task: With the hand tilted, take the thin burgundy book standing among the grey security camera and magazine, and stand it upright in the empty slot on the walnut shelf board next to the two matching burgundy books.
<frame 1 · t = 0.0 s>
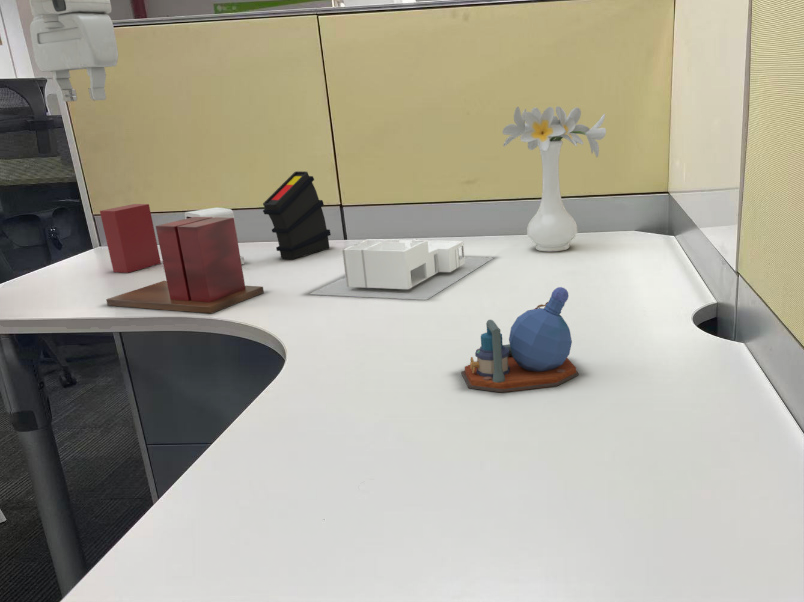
hand: (84, 100, 126), 29 cm above the table, tool pointing down, fingers open, 8 cm apart
book: (137, 267, 149), on the table
book rack: (159, 297, 126), on the table
flower vase: (555, 248, 149), on the table
model: (519, 376, 86), on the table
magazine: (302, 255, 153), on the table
house: (408, 276, 133), on the table
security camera: (220, 266, 147), on the table
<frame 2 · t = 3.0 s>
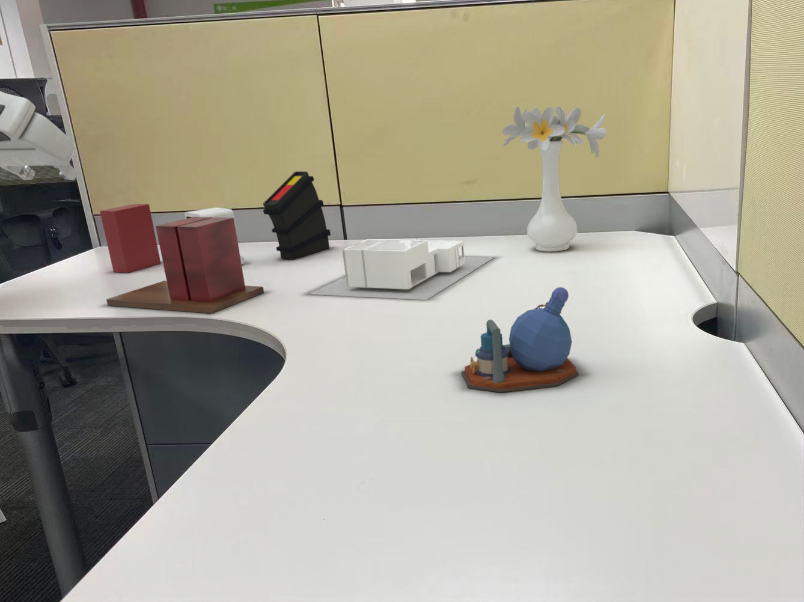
hand: (51, 176, 131), 18 cm above the table, tool tilted 45°, fingers open, 8 cm apart
nothing on the table moved.
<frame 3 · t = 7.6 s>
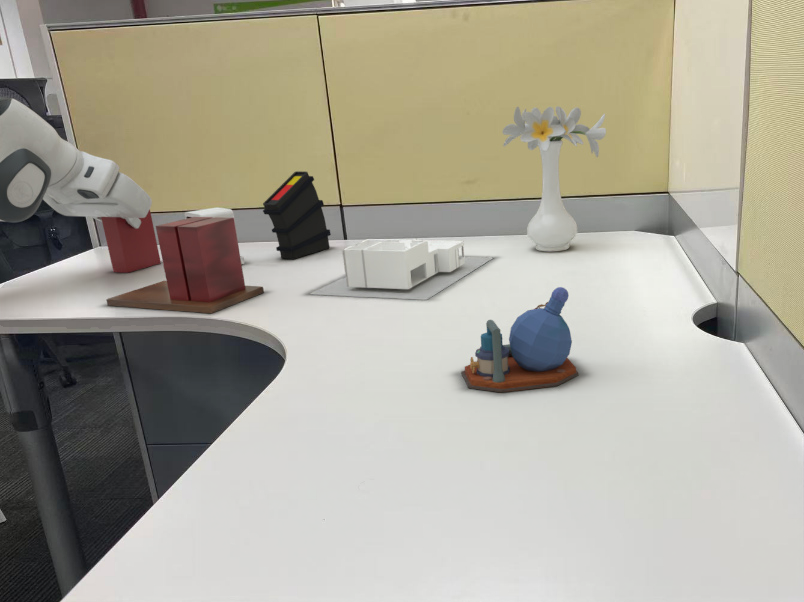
hand: (126, 225, 145), 8 cm above the table, tool tilted 45°, fingers closed on book, 3 cm apart
book: (137, 267, 149), on the table, touching gripper
everything else where it was.
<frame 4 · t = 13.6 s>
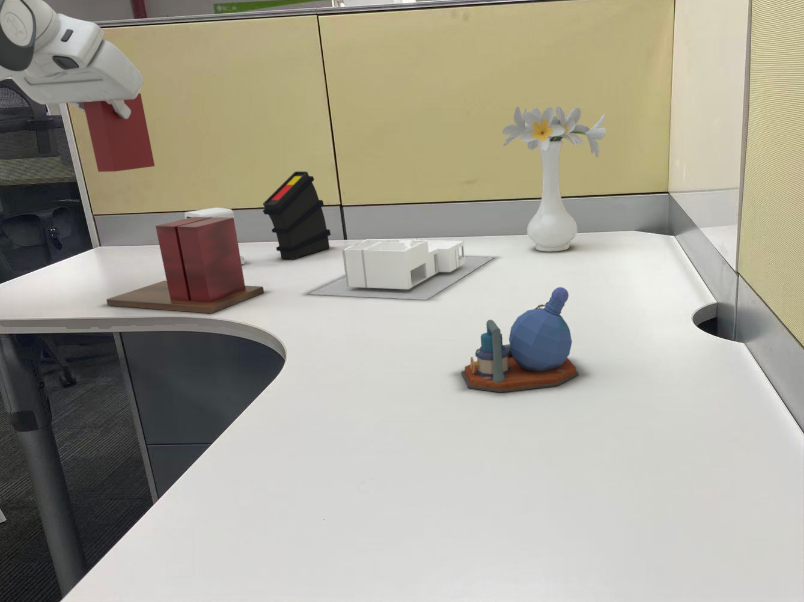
hand: (114, 116, 123), 27 cm above the table, tool tilted 45°, fingers closed on book, 3 cm apart
book: (127, 168, 126), point 19 cm above the table, touching gripper
everything else where it was.
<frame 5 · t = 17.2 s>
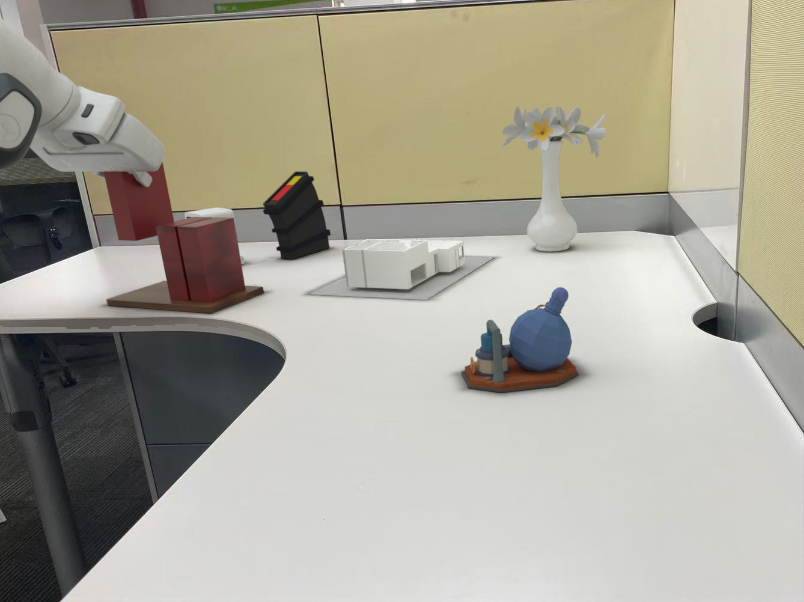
hand: (134, 183, 119), 18 cm above the table, tool tilted 45°, fingers closed on book, 3 cm apart
book: (148, 235, 122), point 10 cm above the table, touching gripper
everything else where it was.
when the fingers open (9 cm above the table, at t = 20.0 s): book stays where it is, resting on book rack.
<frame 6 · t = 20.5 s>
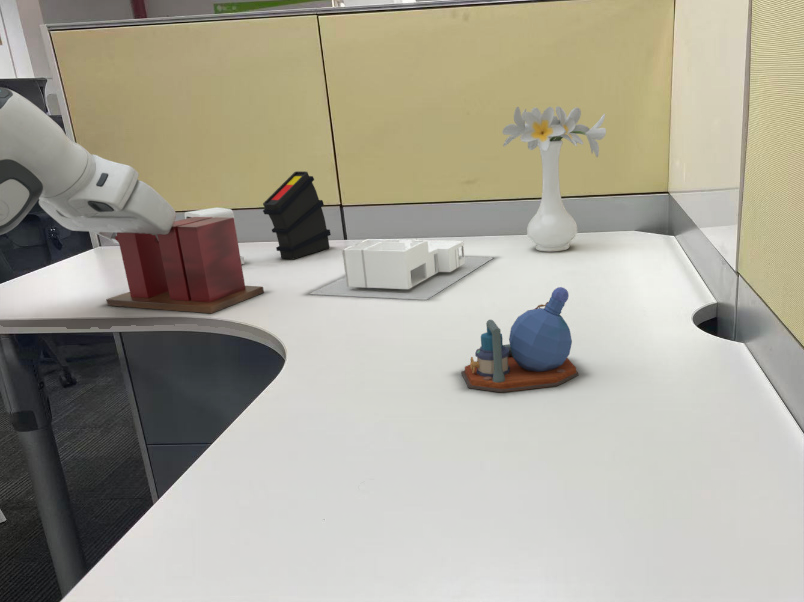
hand: (144, 241, 123), 9 cm above the table, tool tilted 45°, fingers open, 8 cm apart
book: (159, 291, 126), point 1 cm above the table, touching book rack
everything else where it was.
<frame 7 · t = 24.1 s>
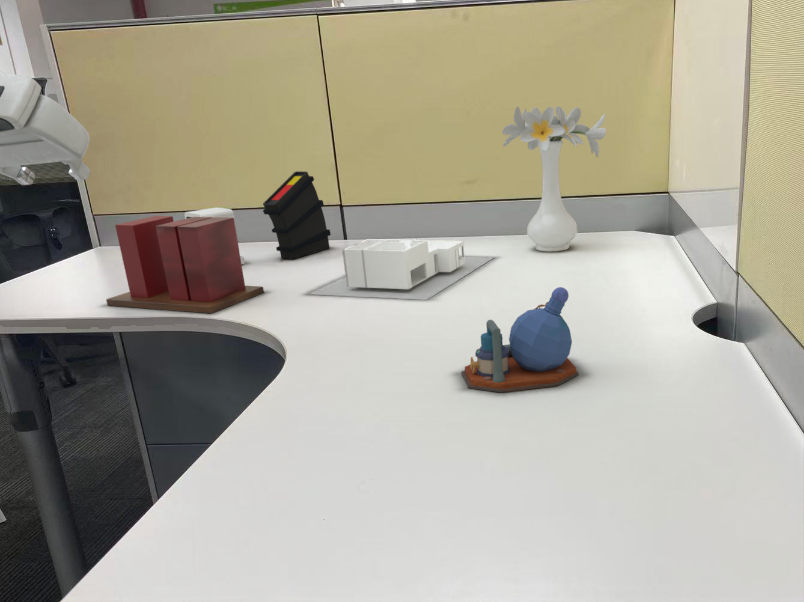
hand: (57, 178, 108), 20 cm above the table, tool tilted 45°, fingers open, 8 cm apart
nothing on the table moved.
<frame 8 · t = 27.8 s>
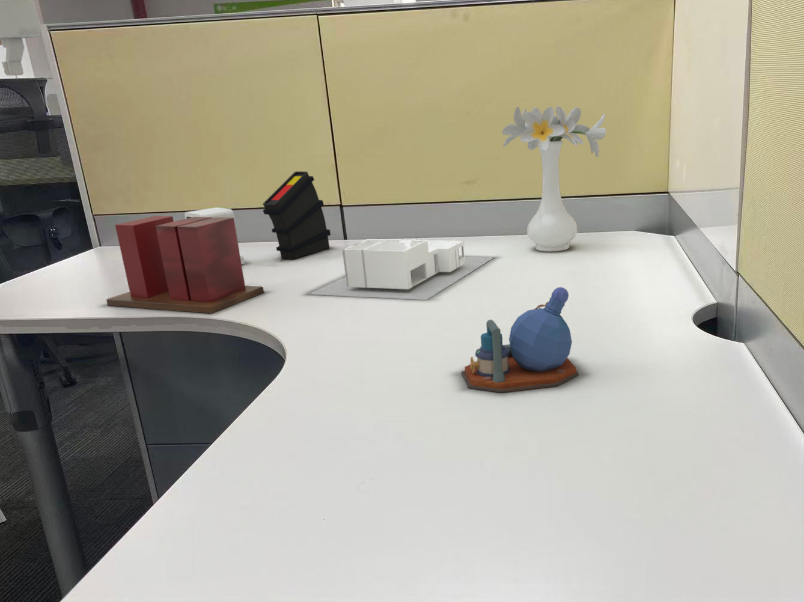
nothing on the table moved.
at the end: book 0.2 cm off-centre on the book rack, point 1.0 cm above the book rack's base; book tilted 0°; the gripper is holding nothing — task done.
